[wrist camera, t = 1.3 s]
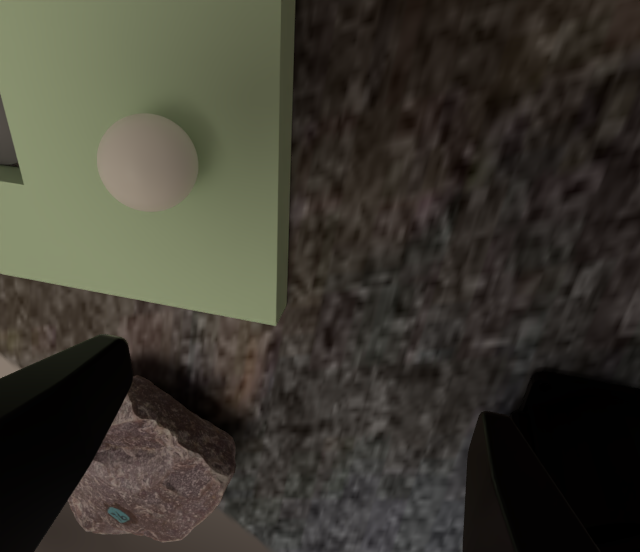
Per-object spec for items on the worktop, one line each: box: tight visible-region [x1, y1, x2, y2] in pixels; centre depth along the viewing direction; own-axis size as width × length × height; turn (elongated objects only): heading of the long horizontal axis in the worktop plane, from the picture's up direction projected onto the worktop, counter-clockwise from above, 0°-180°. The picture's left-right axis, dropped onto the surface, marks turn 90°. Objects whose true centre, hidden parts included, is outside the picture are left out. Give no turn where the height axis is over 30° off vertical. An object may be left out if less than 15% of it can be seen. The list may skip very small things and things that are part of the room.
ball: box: [97, 113, 198, 212], centre depth 17 cm, size 3×3×3 cm
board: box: [0, 0, 295, 326], centre depth 20 cm, size 18×14×2 cm
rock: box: [68, 375, 236, 542], centre depth 27 cm, size 8×11×5 cm
